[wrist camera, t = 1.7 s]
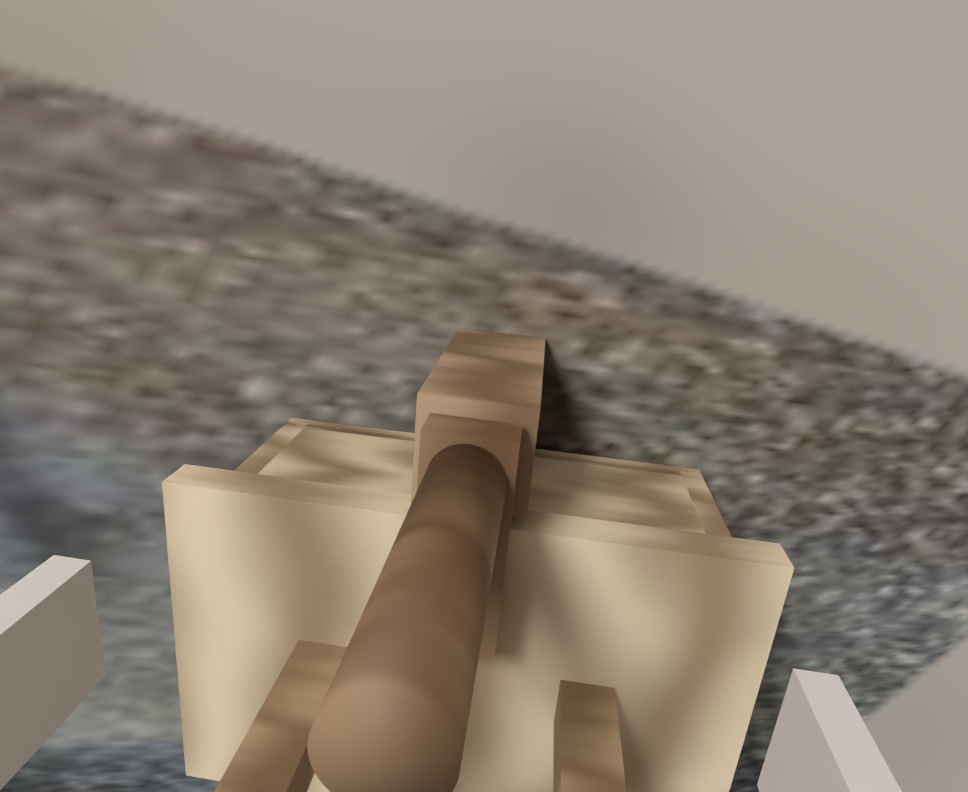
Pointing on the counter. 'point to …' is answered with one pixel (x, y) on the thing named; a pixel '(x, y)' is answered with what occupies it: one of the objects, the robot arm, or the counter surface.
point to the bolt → (425, 621)
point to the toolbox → (541, 473)
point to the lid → (498, 683)
